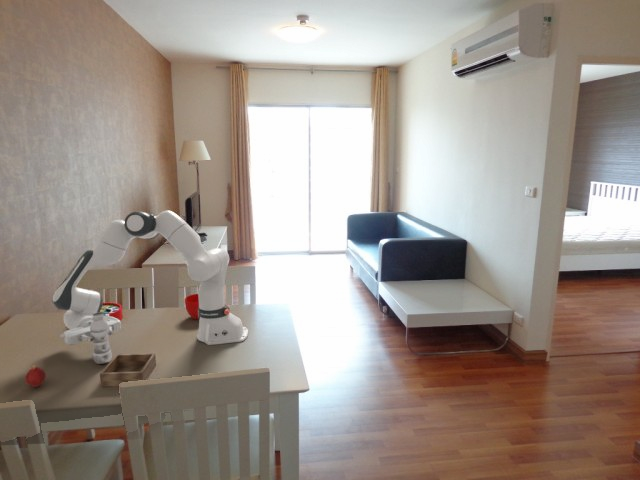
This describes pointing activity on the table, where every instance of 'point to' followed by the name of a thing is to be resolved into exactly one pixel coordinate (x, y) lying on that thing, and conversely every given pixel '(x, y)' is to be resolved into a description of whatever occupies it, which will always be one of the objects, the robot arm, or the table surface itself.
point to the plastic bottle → (100, 339)
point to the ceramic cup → (192, 305)
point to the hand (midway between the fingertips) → (101, 336)
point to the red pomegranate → (35, 376)
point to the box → (128, 368)
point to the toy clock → (112, 310)
